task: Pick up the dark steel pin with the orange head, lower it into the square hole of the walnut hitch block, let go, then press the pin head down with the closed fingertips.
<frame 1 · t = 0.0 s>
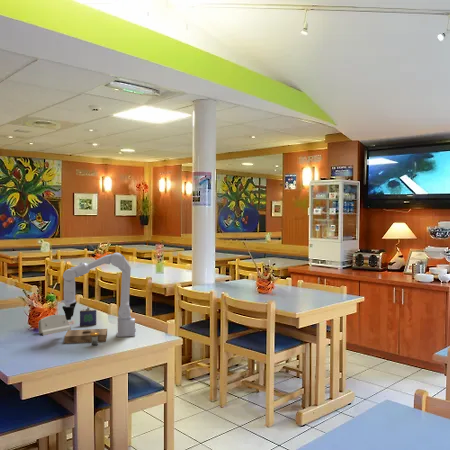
hand: (69, 318, 237), 10 cm above the table, tool pointing down, fingers open, 7 cm apart
pin: (94, 344, 225), on the table
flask: (88, 325, 263), on the table
hitch block: (86, 339, 235), on the table
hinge: (54, 331, 250), on the table
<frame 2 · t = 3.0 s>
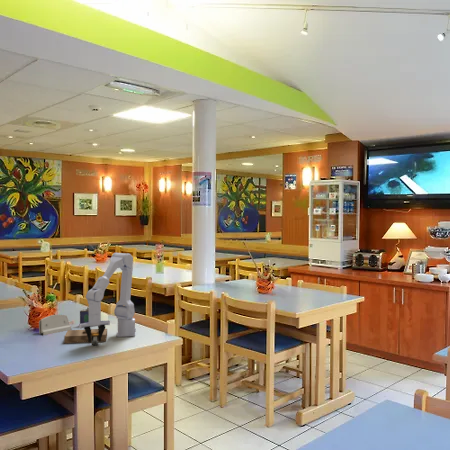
hand: (94, 341, 225), 2 cm above the table, tool pointing down, fingers closed on pin, 4 cm apart
pin: (94, 344, 225), on the table, touching gripper
everything else where it was.
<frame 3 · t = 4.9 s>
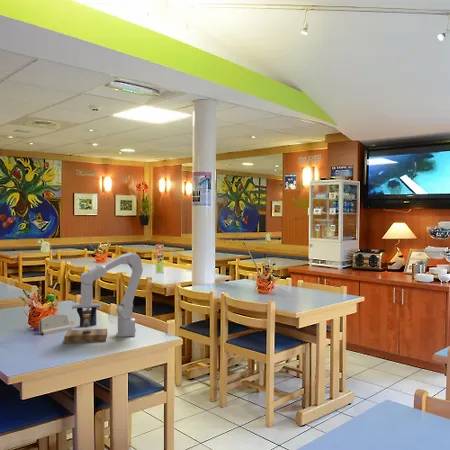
hand: (86, 322, 234), 9 cm above the table, tool pointing down, fingers closed on pin, 4 cm apart
pin: (86, 326, 233), point 7 cm above the table, touching gripper
everything else where it was.
when the fingers open (4 cm above the table, at t = 7.2 s): pin drops 2 cm, resting in hitch block.
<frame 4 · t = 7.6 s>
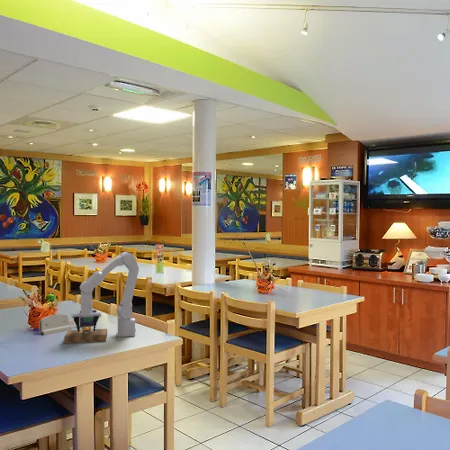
hand: (86, 331, 234), 4 cm above the table, tool pointing down, fingers open, 7 cm apart
pin: (86, 339, 234), resting in hitch block
everything else where it was.
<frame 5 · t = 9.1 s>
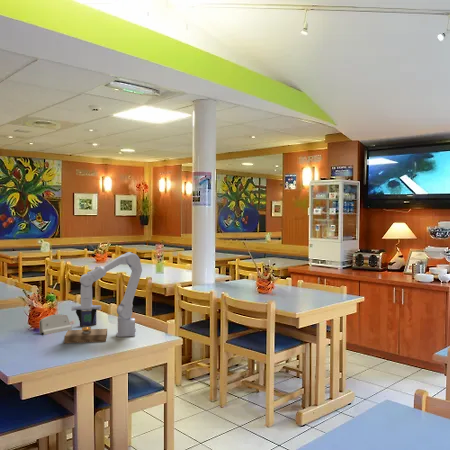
hand: (86, 323, 234), 8 cm above the table, tool pointing down, fingers open, 5 cm apart
nothing on the table moved.
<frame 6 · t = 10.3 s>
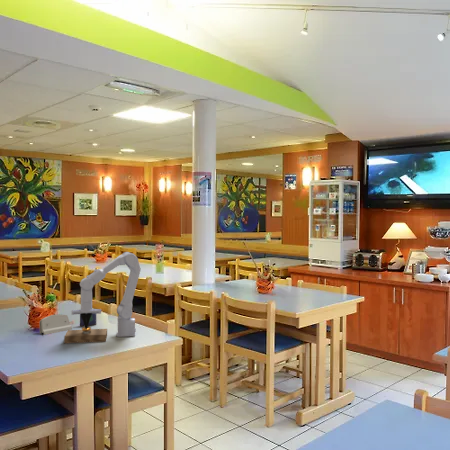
hand: (86, 327, 234), 6 cm above the table, tool pointing down, fingers closed, pressing on pin
pin: (86, 339, 234), resting in hitch block, touching gripper
everything else where it was.
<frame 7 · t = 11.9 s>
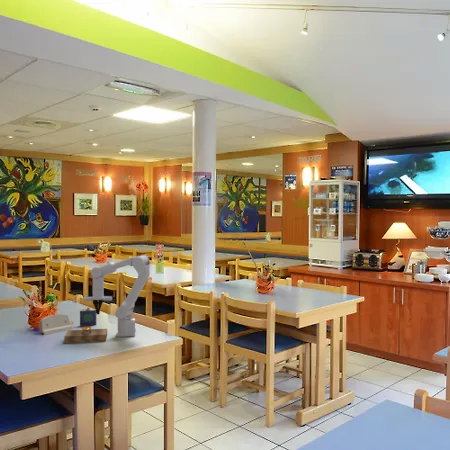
hand: (98, 314, 246), 10 cm above the table, tool pointing down, fingers closed
pin: (86, 339, 234), resting in hitch block
everything else where it was.
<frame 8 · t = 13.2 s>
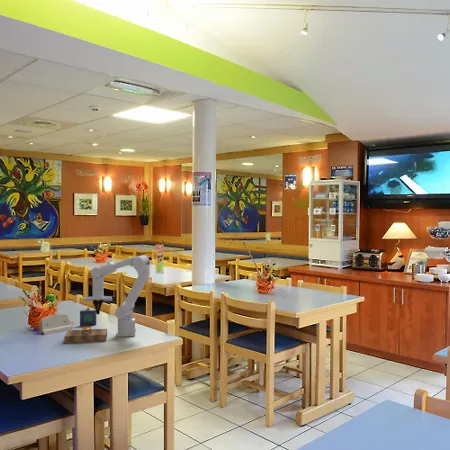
hand: (98, 314, 246), 10 cm above the table, tool pointing down, fingers closed
at the end: pin 0.5 cm off-centre on the hitch block, point 0.0 cm above the hitch block's base; pin tilted 0°; the gripper is holding nothing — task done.
